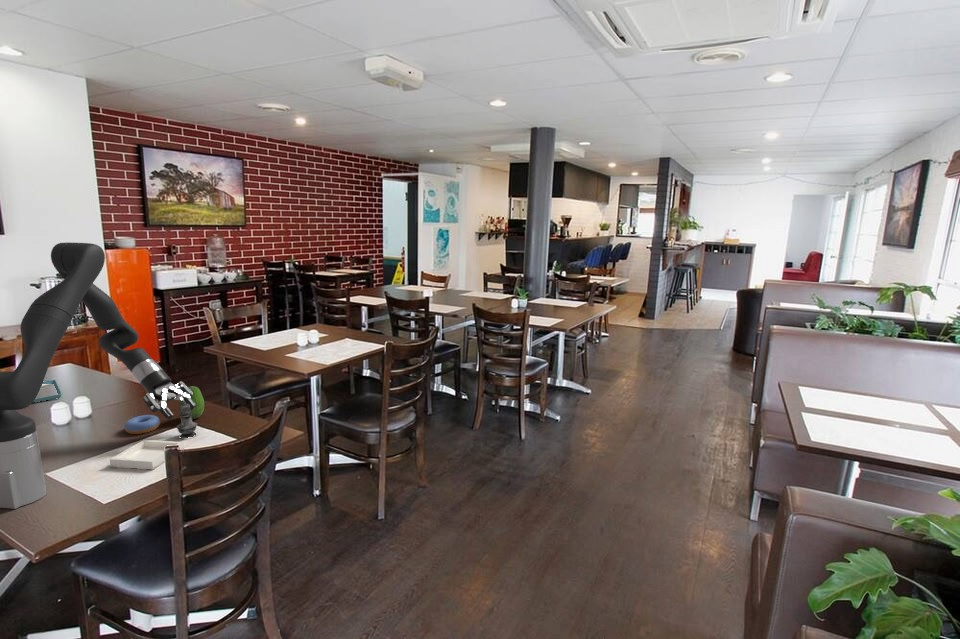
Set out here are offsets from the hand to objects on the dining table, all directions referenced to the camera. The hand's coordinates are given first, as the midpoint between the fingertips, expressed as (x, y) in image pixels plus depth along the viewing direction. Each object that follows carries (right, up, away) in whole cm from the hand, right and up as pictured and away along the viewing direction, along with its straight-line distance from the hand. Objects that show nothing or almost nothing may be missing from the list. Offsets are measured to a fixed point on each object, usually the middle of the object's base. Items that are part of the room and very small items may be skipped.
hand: (183, 413), depth 162 cm
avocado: (-6, -5, +16) cm, 17 cm away
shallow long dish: (-79, 0, +39) cm, 88 cm away
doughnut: (-17, -7, +6) cm, 19 cm away
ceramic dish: (-2, -11, -14) cm, 18 cm away
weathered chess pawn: (+1, -8, +1) cm, 8 cm away
